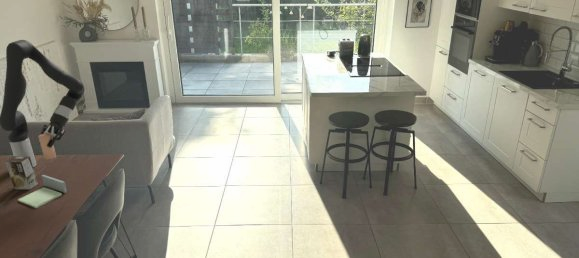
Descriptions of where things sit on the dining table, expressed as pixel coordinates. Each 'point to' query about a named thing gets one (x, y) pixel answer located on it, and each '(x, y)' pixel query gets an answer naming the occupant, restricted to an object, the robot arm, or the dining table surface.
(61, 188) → the low wall
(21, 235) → the dining table surface
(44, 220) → the dining table surface
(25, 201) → the pad
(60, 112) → the robot arm
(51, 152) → the peach rounded cylinder
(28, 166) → the coffee box
